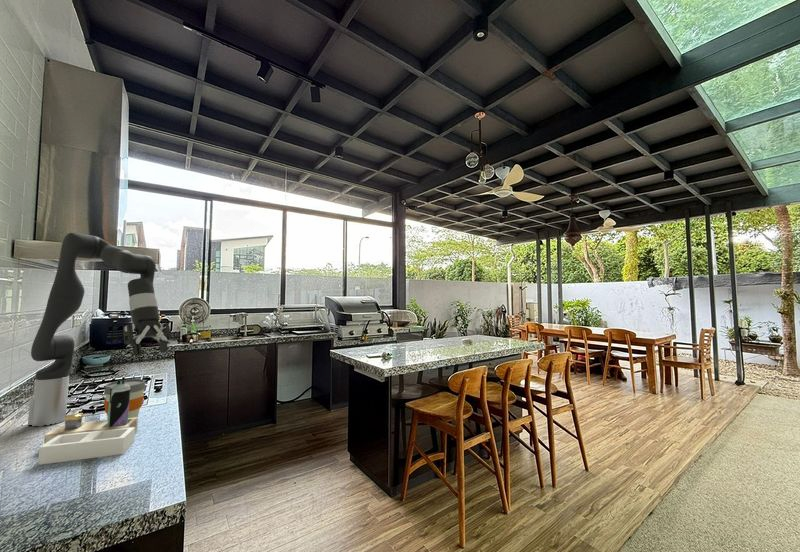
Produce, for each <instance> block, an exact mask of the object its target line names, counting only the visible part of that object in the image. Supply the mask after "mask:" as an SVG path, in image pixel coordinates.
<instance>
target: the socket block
mask: <svg viewBox="0 0 800 552" xmlns="http://www.w3.org/2000/svg"><path fill="white" fill-rule="evenodd" d="M138 422H139V416H138V417H135V418H128V423H127V424H126V425H125V426H115V427H107V423H108V420H107V419H106V420H104V419H103V420H97V421H96V420H94V421H84V422H82V423H81V427H79V428H78V429H71V430H65V423H64V424H60V425H58V426H57V427H56V428H53V429H51V431H49V432H48V433H45V434H44V438H43V441H44V442H43V445H44V444H45V443H47V442H48V441H50V440H52V439H53V438H55V437H56V436H58V435H64V434H73V433H83V432H92V431H102V430H111V429H121V428H131V427H135V434H136V433H137V432H138V425H139V423H138Z"/></svg>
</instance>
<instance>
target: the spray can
mask: <svg viewBox="0 0 800 552" xmlns="http://www.w3.org/2000/svg"><path fill="white" fill-rule="evenodd" d="M124 380H125V379H118V380H117V381H118V383H117V384H116V385H115V386H113V387H111V390H110V397H109V410H108V423H107V427H115V426H125V425H126V424H127V423H128V414H129V400H130V385H128V384H126V383H125V382H124Z"/></svg>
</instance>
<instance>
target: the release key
mask: <svg viewBox="0 0 800 552" xmlns="http://www.w3.org/2000/svg"><path fill="white" fill-rule="evenodd" d="M83 418H84V413H83V412H77V413H75V412H74V413H71V414H66V416H65V420H64V421H65V423H64V424H65V430H71V429H78V428H79V427H81V423H83V422H82V421H83V420H82V419H83Z"/></svg>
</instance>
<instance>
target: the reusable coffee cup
mask: <svg viewBox="0 0 800 552" xmlns="http://www.w3.org/2000/svg"><path fill="white" fill-rule="evenodd" d="M123 380H124V382H125V383H126V384H128V385H130V400H129V414H128V418H135V417H138V418H139V414H140V409H141V407H142V406H143V401H144V397H145V394H144V390H145V389H146V380H144V379H140V378H139V379H138V378H137V379H136V378H135V379H123ZM117 383H118V380H117V381H112V382H110V383H109V382H108V383H107V384H105V386H104V390H103V394H105V397H104V398H105V399H104V402H103V403H104V413H106V420H108V410H109V397H110V390H111V387H113V386H115V385H116V384H117Z"/></svg>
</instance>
